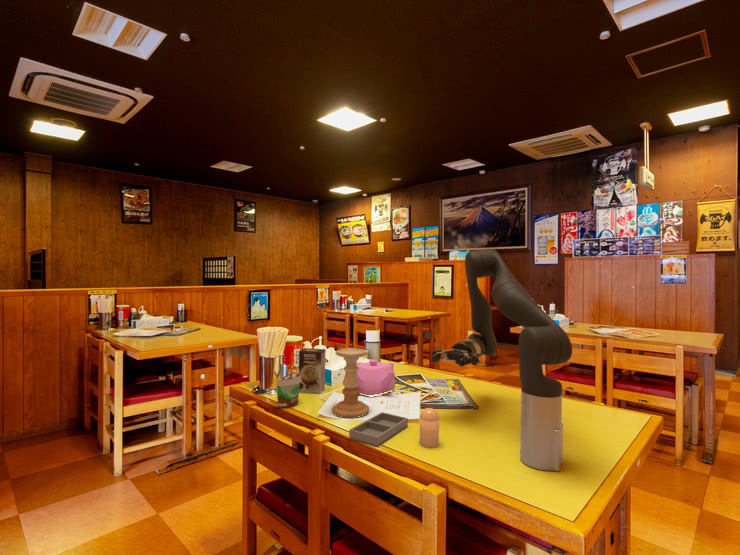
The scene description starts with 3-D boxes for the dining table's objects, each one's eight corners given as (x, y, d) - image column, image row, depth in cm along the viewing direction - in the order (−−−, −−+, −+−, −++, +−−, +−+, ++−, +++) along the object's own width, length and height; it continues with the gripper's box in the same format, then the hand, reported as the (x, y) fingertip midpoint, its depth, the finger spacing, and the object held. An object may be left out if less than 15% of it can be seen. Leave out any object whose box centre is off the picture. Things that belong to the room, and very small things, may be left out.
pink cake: (393, 385, 163) (394, 355, 163) (395, 398, 146) (395, 365, 146) (352, 385, 163) (352, 355, 163) (349, 398, 146) (349, 364, 146)
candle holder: (368, 418, 125) (369, 355, 125) (330, 418, 126) (330, 354, 125) (369, 405, 138) (370, 347, 137) (334, 405, 138) (334, 347, 138)
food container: (293, 411, 131) (293, 381, 131) (275, 409, 133) (276, 379, 133) (306, 399, 143) (306, 372, 143) (290, 398, 145) (290, 371, 145)
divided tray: (407, 426, 119) (407, 418, 119) (377, 447, 105) (377, 437, 105) (381, 420, 124) (381, 412, 124) (349, 438, 110) (349, 429, 110)
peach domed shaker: (441, 442, 108) (442, 407, 108) (433, 449, 104) (434, 413, 104) (424, 438, 111) (424, 404, 111) (416, 444, 107) (416, 409, 106)
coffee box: (297, 392, 152) (298, 350, 152) (303, 388, 158) (303, 347, 158) (320, 394, 150) (321, 351, 150) (325, 389, 157) (325, 348, 156)
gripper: (445, 338, 135) (425, 345, 121) (487, 342, 127) (470, 351, 113) (445, 360, 135) (424, 370, 121) (487, 366, 127) (470, 377, 113)
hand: (447, 360), depth 117 cm, fingers open, 8 cm apart
